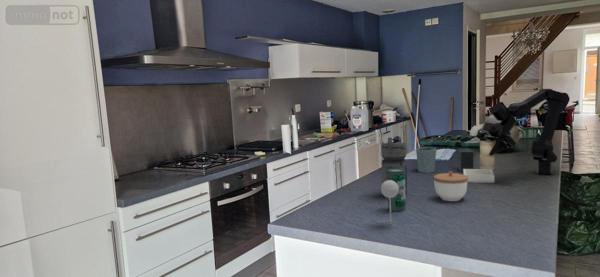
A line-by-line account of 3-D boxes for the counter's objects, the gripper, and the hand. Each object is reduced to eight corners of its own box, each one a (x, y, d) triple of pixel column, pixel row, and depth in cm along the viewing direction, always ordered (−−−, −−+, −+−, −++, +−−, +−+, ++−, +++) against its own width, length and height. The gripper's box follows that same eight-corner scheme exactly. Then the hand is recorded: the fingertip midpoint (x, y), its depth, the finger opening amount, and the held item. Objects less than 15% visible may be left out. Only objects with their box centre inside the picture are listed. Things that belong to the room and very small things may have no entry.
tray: (463, 176, 201) (463, 168, 201) (491, 176, 197) (491, 169, 197) (464, 182, 190) (464, 174, 189) (494, 183, 185) (494, 175, 185)
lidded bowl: (451, 205, 156) (451, 176, 155) (427, 198, 168) (426, 171, 166) (474, 199, 162) (474, 171, 161) (449, 193, 173) (449, 167, 172)
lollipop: (379, 221, 143) (378, 179, 141) (396, 220, 143) (395, 177, 141) (384, 227, 137) (383, 183, 135) (402, 226, 137) (401, 181, 135)
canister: (481, 166, 191) (481, 140, 190) (495, 167, 188) (495, 141, 186) (478, 168, 187) (478, 142, 185) (492, 169, 183) (492, 143, 181)
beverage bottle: (411, 191, 178) (410, 134, 175) (402, 199, 167) (401, 138, 164) (388, 189, 184) (387, 133, 180) (378, 197, 172) (376, 138, 169)
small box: (474, 172, 209) (474, 151, 207) (460, 172, 210) (460, 151, 209) (469, 167, 219) (469, 148, 218) (456, 167, 220) (456, 148, 219)
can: (402, 212, 151) (401, 172, 150) (386, 210, 155) (385, 170, 153) (407, 207, 157) (406, 168, 155) (391, 205, 160) (390, 167, 158)
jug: (484, 154, 253) (484, 105, 249) (475, 149, 274) (475, 103, 270) (527, 153, 248) (528, 103, 245) (515, 148, 269) (515, 101, 266)
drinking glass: (415, 172, 214) (414, 149, 212) (417, 168, 223) (417, 146, 222) (435, 173, 210) (435, 150, 208) (437, 169, 219) (437, 146, 218)
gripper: (479, 114, 194) (459, 140, 192) (510, 117, 176) (489, 145, 175) (493, 130, 197) (474, 155, 196) (525, 133, 180) (504, 161, 178)
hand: (484, 154), depth 186 cm, fingers closed on canister, 6 cm apart
